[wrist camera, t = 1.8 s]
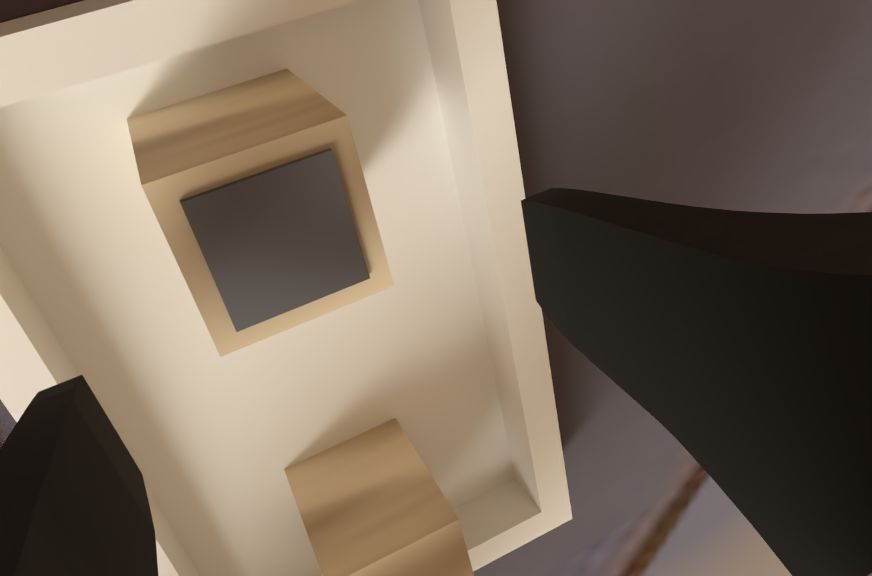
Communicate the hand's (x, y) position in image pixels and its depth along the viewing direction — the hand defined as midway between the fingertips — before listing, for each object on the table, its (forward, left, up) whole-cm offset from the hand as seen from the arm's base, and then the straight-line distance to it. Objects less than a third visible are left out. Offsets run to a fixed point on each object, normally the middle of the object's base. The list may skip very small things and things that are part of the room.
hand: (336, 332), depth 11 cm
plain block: (-12, 0, -9) cm, 15 cm away
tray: (-6, 0, -9) cm, 11 cm away
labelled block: (0, 0, -9) cm, 9 cm away
